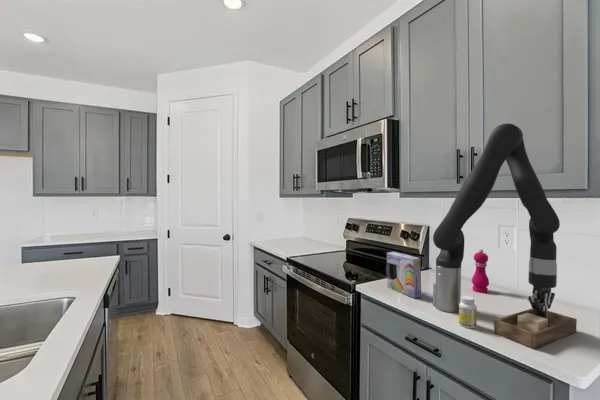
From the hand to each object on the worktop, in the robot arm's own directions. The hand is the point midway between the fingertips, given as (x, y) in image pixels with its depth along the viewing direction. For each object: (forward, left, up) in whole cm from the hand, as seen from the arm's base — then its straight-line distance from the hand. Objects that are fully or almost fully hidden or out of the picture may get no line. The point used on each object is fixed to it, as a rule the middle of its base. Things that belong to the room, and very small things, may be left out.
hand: (540, 321), depth 106 cm
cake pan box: (-51, -11, -3) cm, 53 cm away
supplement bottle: (-14, -19, -3) cm, 23 cm away
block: (0, -6, -1) cm, 6 cm away
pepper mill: (-36, +23, -3) cm, 43 cm away
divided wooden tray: (0, -4, -3) cm, 5 cm away
